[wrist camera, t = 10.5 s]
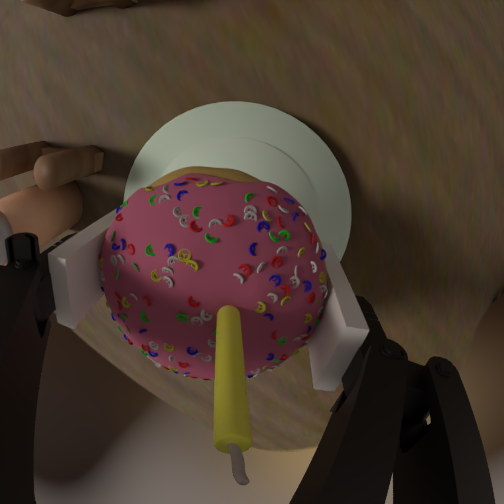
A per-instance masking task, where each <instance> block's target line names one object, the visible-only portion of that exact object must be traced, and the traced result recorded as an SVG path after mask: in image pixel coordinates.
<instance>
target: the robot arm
mask: <svg viewBox="0 0 504 504" xmlns="http://www.w3.org/2000/svg"><path fill="white" fill-rule="evenodd" d="M120 207H122V206H120ZM119 210H120V209H119ZM116 215H117V214H116V209H115V210H113V211H112V212H110V213H109V214H107V215H105V216H104V217H102V218H100V219H99V220H97V221H96V222H94V223H93V224H91V225H89V226H88V227H86V228H85V229H83V230H82V231H80V232H79V233H74V234H71V235H68V236H66V237H64V238H63V239H61V240H60V241H59V242H57V243H55V244H54V245H53V246H51V247H49V248H48V249H47V250H45V251H44V252H42V253H41V254H40V251H39V239H38V237H37V235H35V234H33V233H28V232H22V233H16V234H13V235H11V236H9V237H7V238H6V239H5V248H6V255H7V261H8V263H7V265H6V266H4V265H0V504H36V501H35V495H34V476H33V475H34V465H33V464H34V462H33V461H34V460H33V459H34V433H35V420H36V409H37V400H38V392H39V385H40V378H41V372H42V365H43V360H44V355H45V350H46V345H47V341H48V336H49V332H50V327H51V321H50V315H51V314H52V313H53V312H54V310H56V316H57V321H58V323H60V324H63V325H65V326H67V327H70V328H72V329H75V328H76V327H77V325H78V324H79V323H80V322H81V321H82V319H83V318H84V317H85V316H86V315H87V313H88V312H89V311H90V310H91V309H92V307H93V306H94V305H95V304H96V303H97V302H98V300H99V299H100V298H101V297H102V296H103V295H104V292H103V290H102V289H101V287H103V284H102V281H101V279H100V273H101V266H100V263H99V253H101V248H102V243H103V240H104V237H105V235H106V233H107V231H108V229H109V227H110V226H111V224H112V222H113V220H114V218H115V216H116ZM321 243H322V247H323V249H324V250H325V251H326V254H327V256H326V258H325V262H326V272H327V289H328V293H327V296H326V298H325V304H324V309H323V311H322V317H321V319H320V323H319V324H318V325H317V326H316V328H315V330H314V331H313V333H312V334H311V336H310V337H309V338H308V339H307V340H308V348H309V355H310V363H311V370H312V378H313V386H314V389H318V390H327V391H335V390H336V388H337V387H338V385H339V383H340V382H341V380H342V383H343V388H344V390H343V392H342V393H341V395H340V396H339V398H338V399H337V401H336V402H335V404H334V405H333V407H332V408H331V410H330V411H331V412H333V413H332V415H331V418H330V420H329V423H328V425H327V427H326V430H325V432H324V434H323V436H322V439H321V441H320V443H319V445H318V448H317V450H316V452H315V454H314V456H313V458H312V460H311V463H310V464H309V467H308V469H307V471H306V473H305V475H304V477H303V478H302V481H301V482H300V484H299V486H298V488H297V490H296V492H295V494H294V495H293V498H292V499H291V501H290V503H289V504H385V500H386V496H387V493H388V489H389V485H390V481H391V476H392V472H393V504H495V499H494V493H493V488H492V482H491V477H490V473H489V468H488V464H487V460H486V456H485V452H484V448H483V444H482V440H481V437H480V434H479V430H478V427H477V423H476V420H475V417H474V414H473V411H472V408H471V405H470V402H469V399H468V396H467V394H466V391H465V388H464V386H463V383H462V380H461V378H460V375H459V373H458V371H457V369H456V367H455V366H454V365H453V364H452V363H451V362H450V361H448V360H447V359H445V358H441V357H436V356H434V357H432V358H430V359H429V361H428V362H427V364H426V365H425V366H423V365H420V364H417V363H414V362H411V361H408V356H407V353H406V351H405V350H404V348H403V347H401V346H400V345H399V344H398V343H396V342H394V341H392V340H390V339H387V337H386V335H385V333H384V331H383V329H382V326H381V324H380V322H379V321H378V318H377V316H376V314H375V312H374V310H373V308H372V306H371V304H370V303H369V302H368V301H367V300H366V299H365V298H364V297H360V296H355V295H354V293H353V290H352V288H351V286H350V284H349V281H348V279H347V277H346V275H345V273H344V271H343V268H342V266H341V264H340V262H339V260H338V258H337V256H336V254H335V251H334V249H333V247H332V245H331V244H328V243H324V242H321ZM100 257H101V256H100ZM429 415H430V418H431V423H430V424H429V425H427V421H426V418H427V417H428V416H429Z"/></svg>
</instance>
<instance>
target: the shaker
mask: <svg viewBox="0 0 504 504" xmlns="http://www.w3.org/2000/svg"><path fill="white" fill-rule="evenodd" d="M82 212H83V199H82V195H81V192H80V190H79V188H78V186H77V185H76V184H75V183H74V182H73V181H72V182H69V183H67V184H64V185H61V186H59V187H56V188H54V189H51V190H49V191H44V190H42V189H40V188H39V187H38V185H37V184H36V185H34V186H31V187H28V188H26V189H23V190H21V191H18V192H16V193H13V194H11V195H9V196H6V197H4V198H1V199H0V265H4V266H6V265H7V263H8V261H7V255H6V248H5V239H6V238H7V237H9V236H11V235H13V234H16V233H22V232H28V233H33V234H35V235H37V237H38V239H39V248H40V247H42V246H43V245H45V244H46V243H48V242H49V241H51V240H52V239H54V238H55V237H57V236H58V235H60V234H62V233H63V232H65V231H66V230H68V229H69V228H71V227H73V226H74V225H76V224H77V223H78V222H79V220H80V218H81V216H82Z"/></svg>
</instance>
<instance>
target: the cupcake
mask: <svg viewBox="0 0 504 504" xmlns="http://www.w3.org/2000/svg"><path fill="white" fill-rule="evenodd" d="M119 209H120V210H119ZM116 214H117V215H116V216H115V218H114V220H113V222H112V224H111V226H110V227H109V229H108V231H107V233H106V235H105V237H104V240H103V243H102V248H101V253H99V263H100V266H101V273H100V279H101V281H102V284H103V287H101V289H102V290H103V292H104V293H105V296H106V299H107V302H108V303H107V302H106V305H107V306H108V308H109V309H110V310H111V311H112V313H111V315H112V318H113V320H114V321H117V323H118V325H119V326H118V328H119V329H120V331H121V332H123V333H124V338H125V339H126V340H127V341H128V343H129V344H130V345H132V344H134V345H135V346H137V347H138V348H139V349H140V350H141V352H142V353H143V354H144V355H147V357H148V358H149V359H151V360H152V361H153V362H154V364H155V365H156V366H157V367H161V365H162V366H163V367H164V368H165V369H167V370H169V369H170V370H172V371H173V372H175V373H177V374H178V372H179V373H182V374H184V377H187V376H190V377H191V378H198V377H199V378H203V380H210V381H211V380H215V385H214V446H215V447H216V449H218V450H219V451H221V452H224V453H229V454H230V455H231V460H232V473H233V476H234V478H235V480H236V481H237V483H239V484H240V485H247V484H248V483H249V479H248V477H247V476H246V473H245V464H244V458H243V455H242V452H244V451H246V450H248V449H249V448H250V447H251V445H252V437H251V427H250V417H249V407H248V397H247V387H246V376H248V378H251V377H253V376H254V377H256V376H257V375H258V373H261V372H264V371H269V372H271V371H273V368H275V367H277V366H280V365H279V364H281V363H282V362H284V361H285V360H287V359H288V358H289V357H290V356H294V355H296V354H297V353H298V352H299V348H301V347H304V346H306V345H307V344H308V343H305V342H306V341H307V339H308V338H309V337H310V336H311V334H312V333H313V331H314V330H315V328H316V326H317V325H318V324H319V323H320V319H321V317H322V311H323V309H324V304H325V298H326V296H327V293H328V289H327V272H326V262H325V258H326V256H327V254H326V251H325V250H324V249H323V247H322V243H321V241H320V238H319V236H318V235H317V233H316V230H315V228H314V225H313V223H312V221H311V218H310V217H309V215H308V213H307V212H306V210H305V209H304V208H303V206H302V205H301V204H300V203H299V202H298V201H297V200H296V199H295V198H294V197H293V196H292V195H290V194H289V193H288V192H287V191H285V190H284V189H282V188H281V187H279V186H277V185H275V184H273V183H270V182H264V181H261V180H259V179H257V178H255V177H253V176H251V175H249V174H247V173H245V172H242V171H239V170H236V169H229V168H215V167H204V166H190V167H185V168H181V169H178V170H175V171H173V172H170V173H168V174H166V175H165V176H163V177H161V178H159V179H158V180H156V181H155V182H153V183H152V184H150V185H149V186H148V187H145V188H140V189H138V190H137V191H136V192H134V193H133V194H132V195H131V196H130V197H129V198H128V199H127V201H125V202H124V203H123V204H122V207H117V209H116ZM100 256H101V257H100ZM113 316H114V317H113ZM114 318H115V319H114ZM126 337H127V338H126ZM129 339H130V340H129ZM130 341H131V343H130ZM296 351H297V352H296ZM295 352H296V353H295ZM157 364H159V365H157ZM255 374H256V375H255Z"/></svg>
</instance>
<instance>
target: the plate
mask: <svg viewBox="0 0 504 504" xmlns="http://www.w3.org/2000/svg"><path fill="white" fill-rule="evenodd" d="M190 166H204V167H215V168H229V169H236V170H239V171H242V172H245V173H247V174H249V175H251V176H253V177H255V178H257V179H259V180H261V181H264V182H270V183H273V184H275V185H277V186H279V187H281V188H282V189H284V190H285V191H287V192H288V193H289V194H290V195H292V196H293V197H294V198H295V199H296V200H297V201H298V202H299V203H300V204H301V205H302V206H303V208H304V209H305V210H306V212H307V213H308V215H309V217H310V218H311V221H312V223H313V225H314V228H315V230H316V233H317V235H318V236H319V238H320V241H321V242H324V243H328V244H331V245H332V247H333V249H334V251H335V254H336V256H337V258H338V260H339V262H340V261H341V259H342V257H343V255H344V252H345V250H346V246H347V243H348V239H349V235H350V228H351V201H350V194H349V189H348V186H347V183H346V179H345V176H344V174H343V172H342V170H341V167H340V165H339V163H338V161H337V160H336V158H335V157H334V155H333V153H332V152H331V150H330V149H329V148H328V146H327V145H326V144H325V143H324V142H323V141H322V140H321V138H320V137H319V136H318V135H317V134H316V133H314V132H313V131H312V130H311V129H310V128H309V127H307V126H306V125H305V124H303V123H302V122H300V121H299V120H297V119H296V118H294V117H292V116H291V115H289V114H286V113H284V112H282V111H280V110H277V109H275V108H272V107H268V106H265V105H261V104H256V103H249V102H220V103H213V104H208V105H204V106H201V107H198V108H194V109H192V110H190V111H187V112H185V113H183V114H181V115H179V116H177V117H176V118H174V119H173V120H171V121H170V122H168V123H167V124H165V125H164V126H163V127H162V128H160V129H159V130H158V131H157V132H156V133H155V134H154V135H153V136H152V137H151V138H150V139H149V141H148V142H147V143H146V144H145V145H144V147H143V148H142V150H141V151H140V153H139V154H138V156H137V158H136V159H135V162H134V164H133V166H132V168H131V170H130V173H129V176H128V180H127V183H126V187H125V194H124V202H125V201H127V199H128V198H129V197H130V196H131V195H132V194H133V193H134V192H136V191H137V190H138V189H140V188H145V187H148V186H149V185H150V184H152V183H153V182H155V181H156V180H158V179H159V178H161V177H163V176H165V175H166V174H168V173H170V172H173V171H175V170H178V169H181V168H185V167H190Z"/></svg>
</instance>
